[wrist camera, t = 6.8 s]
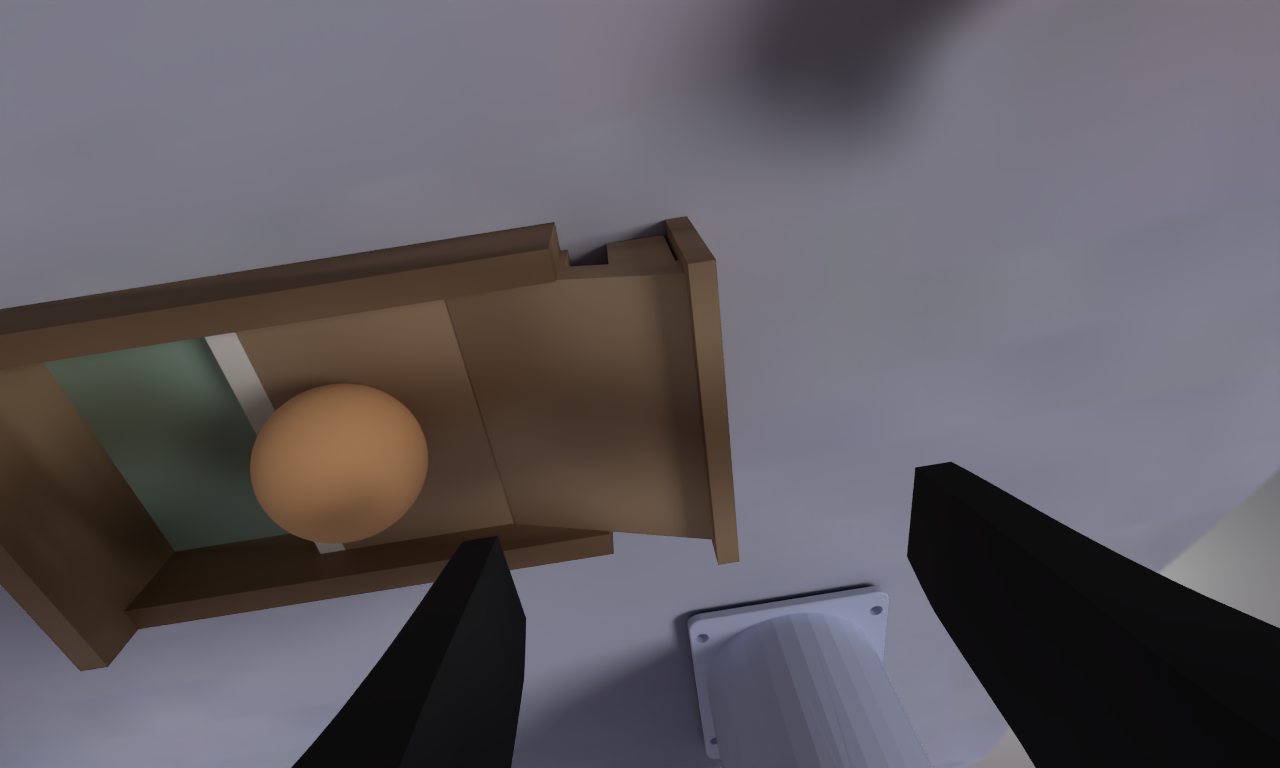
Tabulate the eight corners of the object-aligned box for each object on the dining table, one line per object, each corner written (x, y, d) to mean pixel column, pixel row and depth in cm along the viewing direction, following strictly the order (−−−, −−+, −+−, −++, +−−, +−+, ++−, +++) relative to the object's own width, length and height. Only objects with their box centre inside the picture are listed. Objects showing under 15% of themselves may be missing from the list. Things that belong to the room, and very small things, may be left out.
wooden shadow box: (712, 481, 21) (740, 571, 17) (167, 568, 21) (75, 677, 17) (685, 201, 16) (714, 241, 12) (-16, 311, 16) (-198, 384, 12)
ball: (257, 566, 15) (367, 471, 18) (379, 591, 14) (475, 482, 17) (176, 435, 13) (314, 355, 16) (308, 448, 12) (431, 357, 15)
